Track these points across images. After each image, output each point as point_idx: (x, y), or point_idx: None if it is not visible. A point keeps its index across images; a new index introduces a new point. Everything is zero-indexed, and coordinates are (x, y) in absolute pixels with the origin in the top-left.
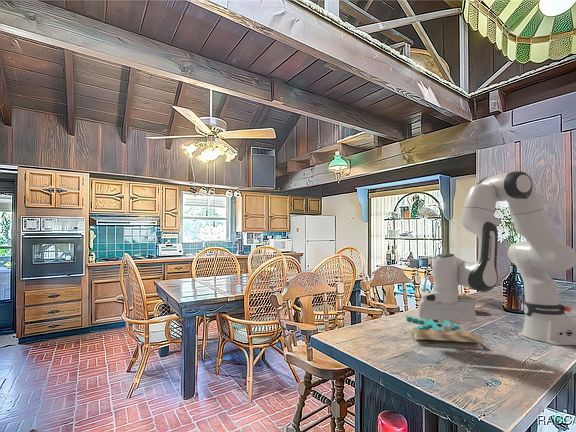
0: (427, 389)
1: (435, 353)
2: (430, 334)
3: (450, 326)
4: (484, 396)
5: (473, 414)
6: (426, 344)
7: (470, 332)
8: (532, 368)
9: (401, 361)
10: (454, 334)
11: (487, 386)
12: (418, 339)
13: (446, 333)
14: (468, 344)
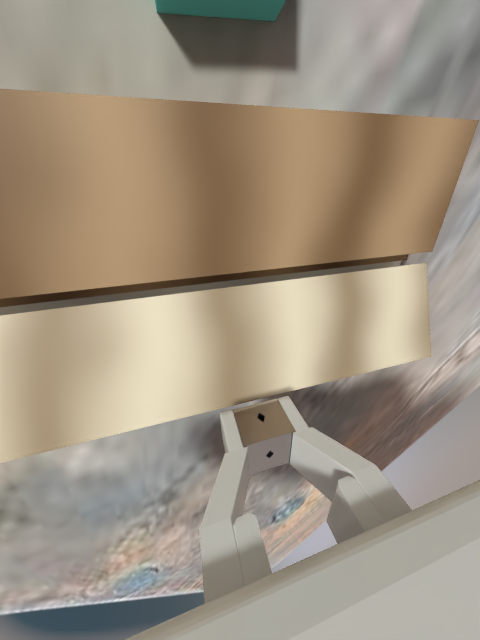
0: (145, 592)
1: (159, 441)
2: (111, 434)
3: (303, 471)
4: None
5: None
6: None
7: (463, 135)
8: (414, 413)
9: (26, 554)
10: (317, 233)
11: (270, 526)
12: (7, 313)
13: (258, 219)
14: None
